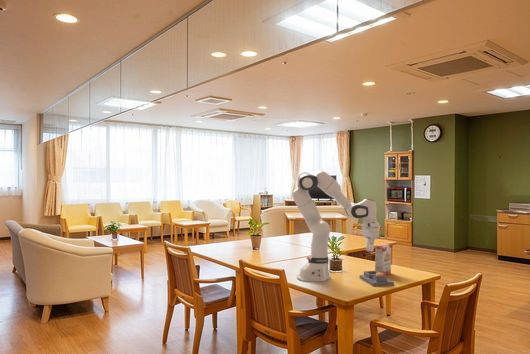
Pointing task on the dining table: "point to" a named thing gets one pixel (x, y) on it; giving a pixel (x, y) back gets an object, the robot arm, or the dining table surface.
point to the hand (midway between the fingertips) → (369, 243)
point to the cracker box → (383, 258)
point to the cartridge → (368, 245)
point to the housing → (375, 279)
